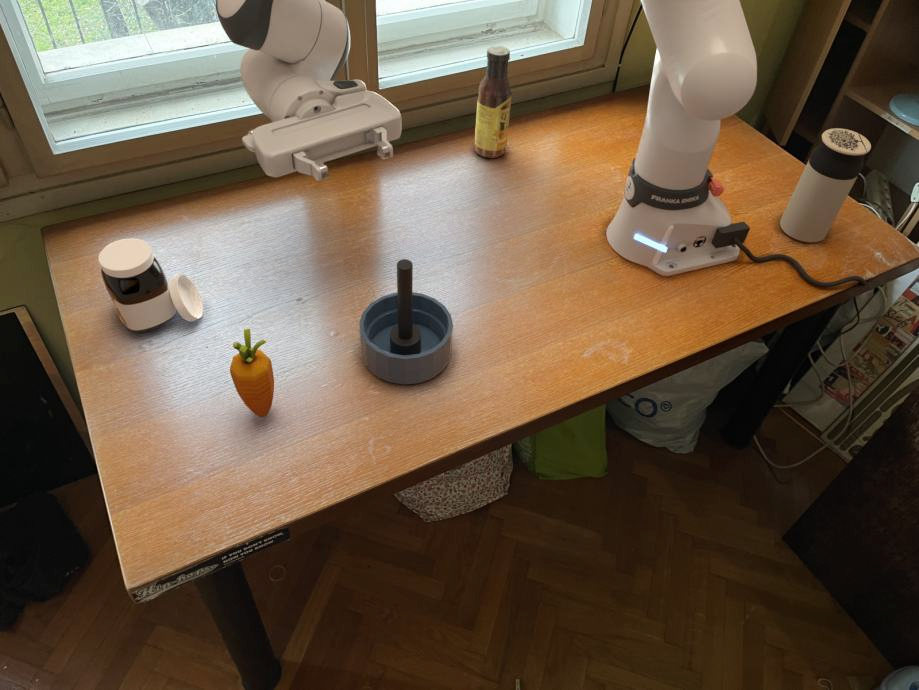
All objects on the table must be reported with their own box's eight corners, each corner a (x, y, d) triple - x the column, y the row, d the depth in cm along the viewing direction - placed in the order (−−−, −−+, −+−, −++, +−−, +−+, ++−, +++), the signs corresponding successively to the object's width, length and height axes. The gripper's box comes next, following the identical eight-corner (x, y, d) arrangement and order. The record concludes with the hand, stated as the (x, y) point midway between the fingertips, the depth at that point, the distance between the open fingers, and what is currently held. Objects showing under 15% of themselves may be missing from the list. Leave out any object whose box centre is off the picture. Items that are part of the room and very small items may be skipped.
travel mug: (779, 238, 126) (822, 148, 113) (778, 212, 131) (819, 123, 118) (826, 248, 125) (875, 158, 112) (823, 221, 130) (870, 132, 117)
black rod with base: (419, 337, 105) (419, 251, 93) (422, 359, 102) (423, 274, 90) (388, 339, 104) (385, 254, 93) (391, 362, 102) (388, 276, 90)
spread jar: (110, 305, 107) (83, 244, 99) (183, 276, 112) (164, 216, 104) (140, 354, 101) (114, 293, 93) (216, 321, 106) (198, 261, 98)
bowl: (444, 317, 109) (445, 288, 105) (457, 382, 100) (459, 353, 96) (359, 324, 107) (356, 295, 103) (365, 391, 99) (363, 362, 94)
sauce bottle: (502, 162, 138) (513, 62, 124) (470, 157, 139) (477, 57, 124) (508, 144, 143) (518, 45, 128) (477, 139, 143) (484, 40, 129)
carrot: (257, 396, 97) (237, 318, 86) (289, 408, 96) (273, 330, 85) (236, 423, 94) (212, 345, 83) (268, 436, 93) (249, 359, 82)
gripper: (232, 114, 93) (277, 166, 86) (370, 76, 101) (423, 120, 94) (241, 156, 98) (284, 209, 90) (372, 117, 106) (422, 162, 99)
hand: (356, 164), depth 92 cm, fingers open, 8 cm apart
